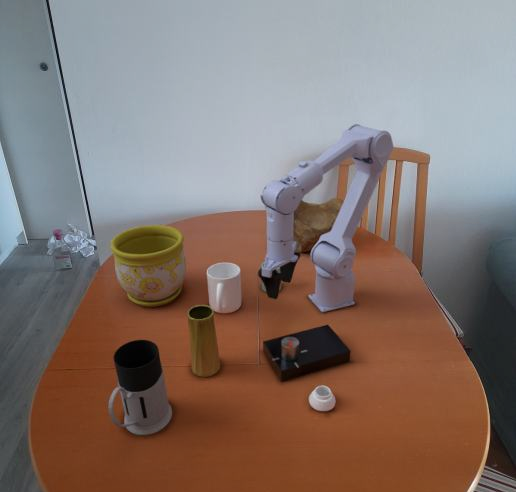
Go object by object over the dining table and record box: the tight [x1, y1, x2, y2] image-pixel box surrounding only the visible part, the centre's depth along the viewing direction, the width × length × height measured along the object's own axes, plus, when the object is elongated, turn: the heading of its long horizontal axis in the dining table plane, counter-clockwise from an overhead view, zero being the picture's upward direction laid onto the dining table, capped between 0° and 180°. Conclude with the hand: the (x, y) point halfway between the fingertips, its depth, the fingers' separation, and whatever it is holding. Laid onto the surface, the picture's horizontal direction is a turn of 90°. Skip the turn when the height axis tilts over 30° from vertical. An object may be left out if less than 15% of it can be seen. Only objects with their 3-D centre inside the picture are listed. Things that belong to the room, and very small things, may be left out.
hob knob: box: [281, 337, 299, 361], centre depth 92 cm, size 4×4×4 cm
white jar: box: [308, 385, 337, 412], centre depth 84 cm, size 5×3×5 cm
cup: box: [260, 261, 282, 293], centre depth 120 cm, size 5×5×7 cm
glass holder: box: [108, 339, 173, 436], centre depth 77 cm, size 9×14×15 cm, turn 167°
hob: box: [262, 324, 352, 382], centre depth 96 cm, size 16×10×3 cm, turn 111°
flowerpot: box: [109, 224, 187, 308], centre depth 116 cm, size 18×18×16 cm
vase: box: [187, 304, 221, 378], centre depth 91 cm, size 6×6×14 cm
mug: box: [206, 262, 243, 314], centre depth 110 cm, size 12×8×10 cm
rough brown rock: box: [293, 197, 344, 254], centre depth 140 cm, size 23×17×15 cm
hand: (279, 289), depth 103 cm, fingers open, 7 cm apart
